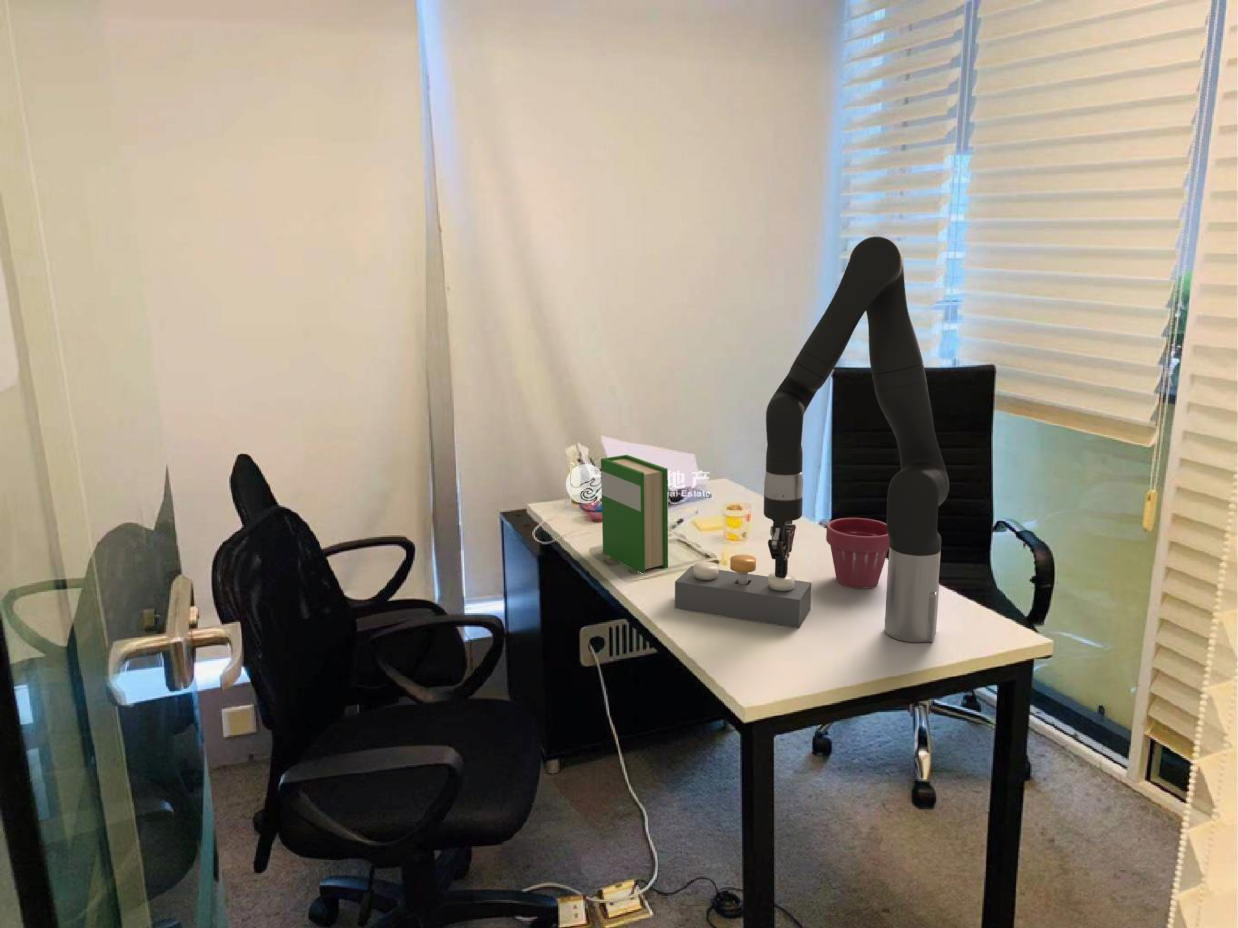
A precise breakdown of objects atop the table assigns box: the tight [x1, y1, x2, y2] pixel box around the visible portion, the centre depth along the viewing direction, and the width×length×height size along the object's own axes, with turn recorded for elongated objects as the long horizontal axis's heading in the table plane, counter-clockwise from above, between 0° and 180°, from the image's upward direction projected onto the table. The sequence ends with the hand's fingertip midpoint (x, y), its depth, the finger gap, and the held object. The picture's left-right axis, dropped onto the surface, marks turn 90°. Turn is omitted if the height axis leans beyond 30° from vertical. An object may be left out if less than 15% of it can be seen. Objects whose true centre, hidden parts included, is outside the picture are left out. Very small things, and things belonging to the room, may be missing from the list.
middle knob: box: [729, 554, 757, 585], centre depth 180 cm, size 5×5×7 cm
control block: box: [674, 565, 812, 629], centre depth 181 cm, size 26×10×6 cm, turn 65°
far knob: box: [692, 561, 719, 580], centre depth 184 cm, size 5×5×7 cm
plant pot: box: [825, 517, 889, 589], centre depth 194 cm, size 14×14×13 cm
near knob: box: [767, 571, 796, 591], centre depth 177 cm, size 5×5×7 cm
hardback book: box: [600, 454, 669, 574], centre depth 209 cm, size 18×7×24 cm, turn 31°
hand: (781, 576), depth 177 cm, fingers closed
